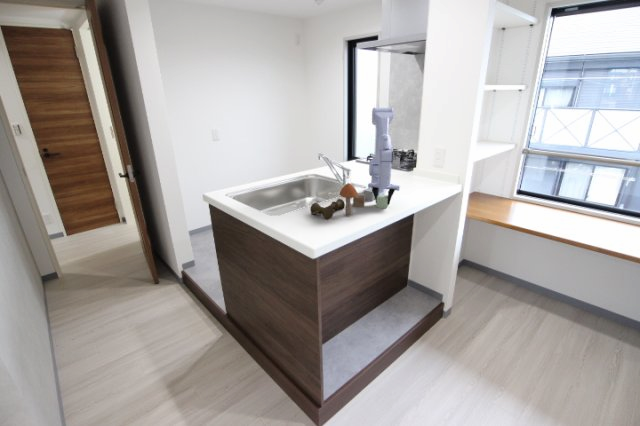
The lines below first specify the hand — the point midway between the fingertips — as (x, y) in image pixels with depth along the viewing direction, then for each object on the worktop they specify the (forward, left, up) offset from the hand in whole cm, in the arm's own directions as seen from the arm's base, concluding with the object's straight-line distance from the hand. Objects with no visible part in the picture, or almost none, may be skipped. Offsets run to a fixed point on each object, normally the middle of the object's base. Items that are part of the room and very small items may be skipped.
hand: (382, 203), depth 153 cm
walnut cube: (+3, -11, -2) cm, 12 cm away
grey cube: (-8, -8, -2) cm, 11 cm away
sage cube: (0, 0, -1) cm, 1 cm away
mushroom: (+17, -12, -2) cm, 21 cm away
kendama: (+19, -21, -2) cm, 28 cm away
